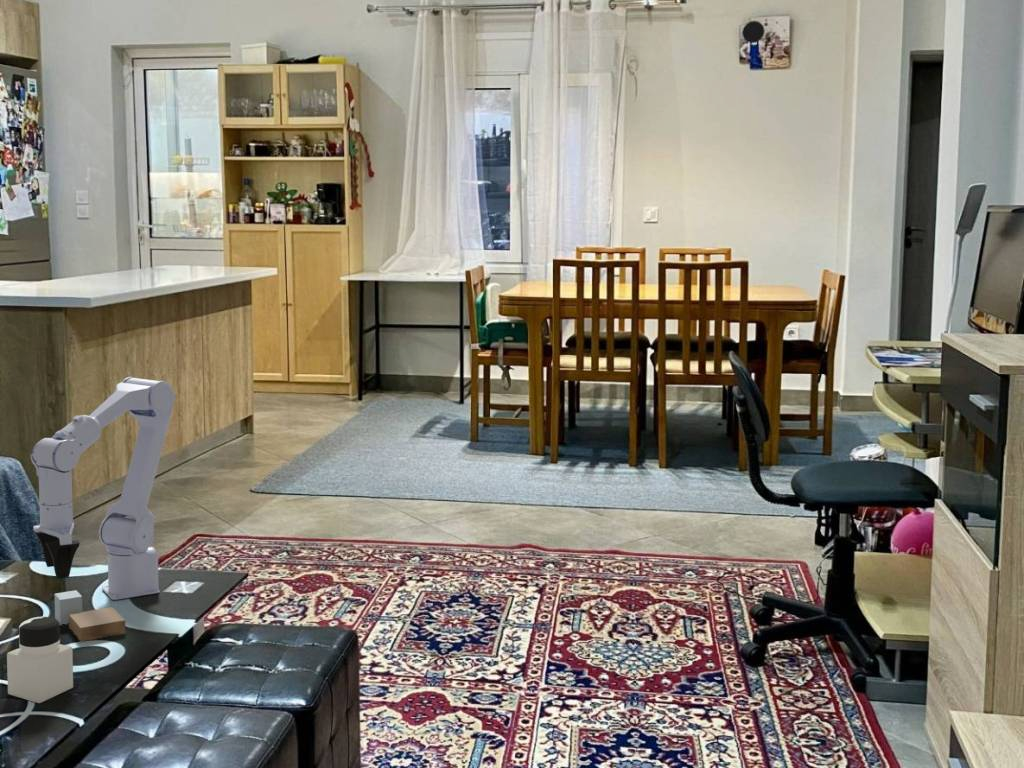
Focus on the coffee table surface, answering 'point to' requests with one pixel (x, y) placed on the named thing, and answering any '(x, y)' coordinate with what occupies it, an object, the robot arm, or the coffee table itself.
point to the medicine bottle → (39, 662)
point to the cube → (67, 605)
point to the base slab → (97, 624)
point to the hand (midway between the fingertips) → (57, 571)
